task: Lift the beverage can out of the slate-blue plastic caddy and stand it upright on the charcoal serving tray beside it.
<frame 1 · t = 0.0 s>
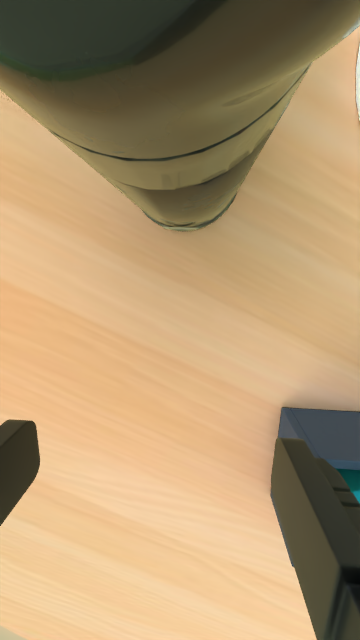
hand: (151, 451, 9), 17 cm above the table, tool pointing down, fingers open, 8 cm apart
caddy: (328, 456, 28), on the table
beverage can: (327, 455, 28), resting in caddy
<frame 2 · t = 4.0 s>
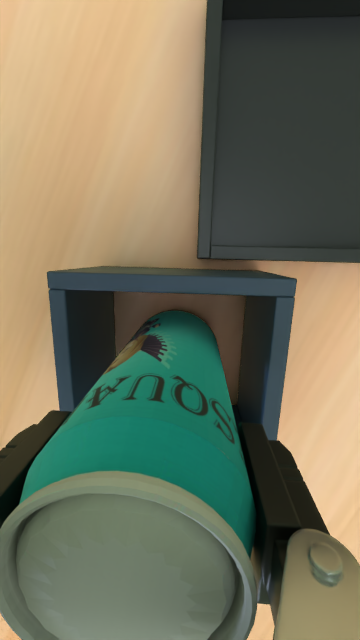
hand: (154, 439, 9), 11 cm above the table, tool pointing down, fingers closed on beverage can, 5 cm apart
caddy: (177, 343, 19), on the table
beverage can: (177, 342, 20), resting in caddy, touching gripper
tray: (347, 146, 16), on the table
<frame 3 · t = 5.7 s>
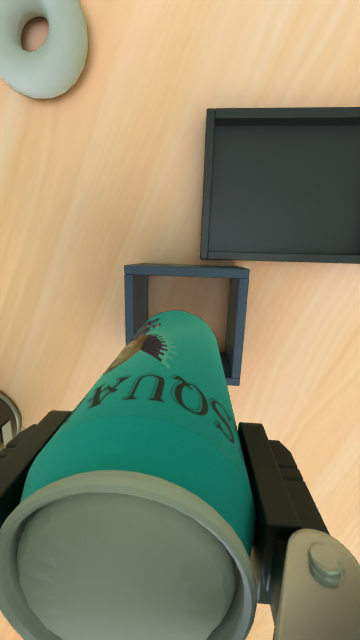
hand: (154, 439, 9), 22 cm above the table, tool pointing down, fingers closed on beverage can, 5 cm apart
caddy: (187, 312, 31), on the table
donut: (45, 49, 26), on the table
beverage can: (177, 342, 20), point 12 cm above the table, touching gripper
tray: (288, 194, 27), on the table
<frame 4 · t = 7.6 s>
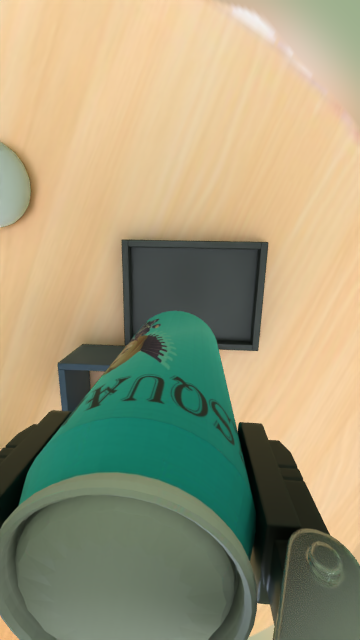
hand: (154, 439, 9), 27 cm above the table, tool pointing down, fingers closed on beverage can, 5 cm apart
caddy: (121, 381, 39), on the table
beverage can: (177, 343, 20), point 16 cm above the table, touching gripper
tray: (192, 295, 35), on the table
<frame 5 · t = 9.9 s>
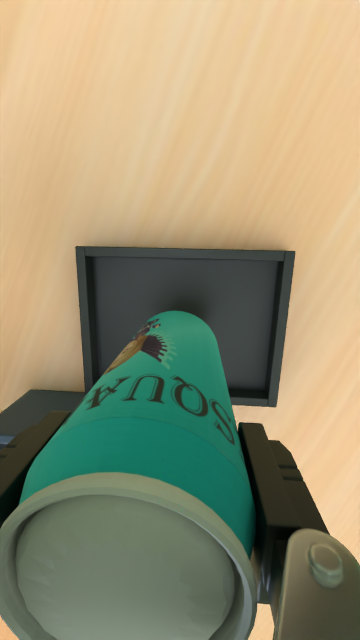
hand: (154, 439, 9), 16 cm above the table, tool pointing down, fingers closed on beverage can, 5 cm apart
caddy: (85, 438, 28), on the table
beverage can: (177, 343, 20), point 5 cm above the table, touching gripper
tray: (181, 324, 24), on the table
when the fingers open (11 cm above the table, at t = 11.6 s): beverage can stays where it is, resting on tray.
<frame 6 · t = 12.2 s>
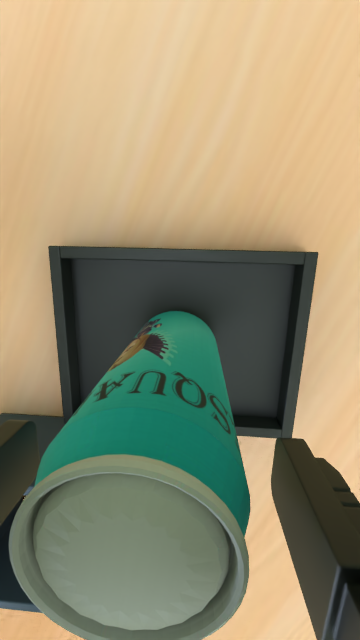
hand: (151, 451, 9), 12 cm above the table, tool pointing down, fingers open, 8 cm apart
caddy: (67, 469, 24), on the table
beverage can: (178, 342, 20), resting on tray
tray: (178, 339, 21), on the table
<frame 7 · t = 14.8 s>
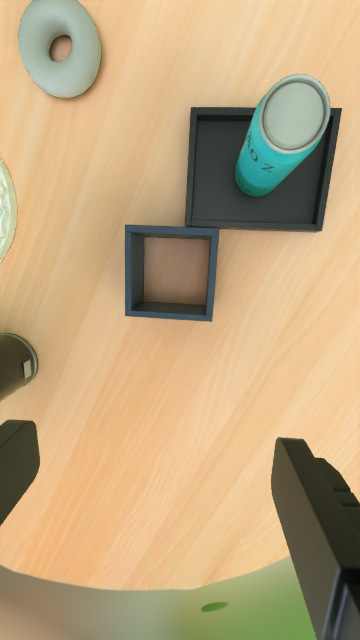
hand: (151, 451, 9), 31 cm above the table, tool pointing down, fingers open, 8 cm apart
caddy: (175, 271, 38), on the table
donut: (68, 59, 34), on the table
beverage can: (255, 175, 34), resting on tray
tray: (255, 175, 35), on the table
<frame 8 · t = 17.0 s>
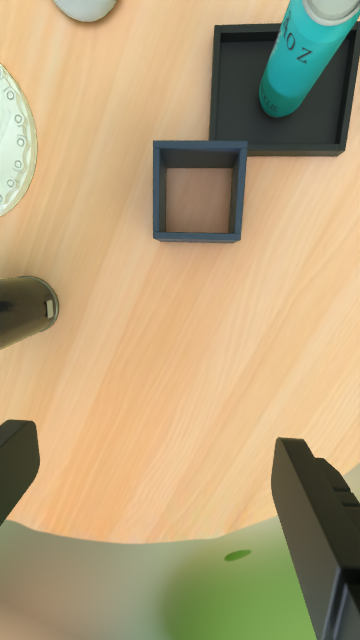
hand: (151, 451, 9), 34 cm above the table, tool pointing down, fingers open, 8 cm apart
caddy: (198, 203, 38), on the table
beverage can: (277, 98, 35), resting on tray
tray: (277, 99, 35), on the table
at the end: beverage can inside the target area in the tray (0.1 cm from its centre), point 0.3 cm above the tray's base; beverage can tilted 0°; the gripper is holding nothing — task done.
